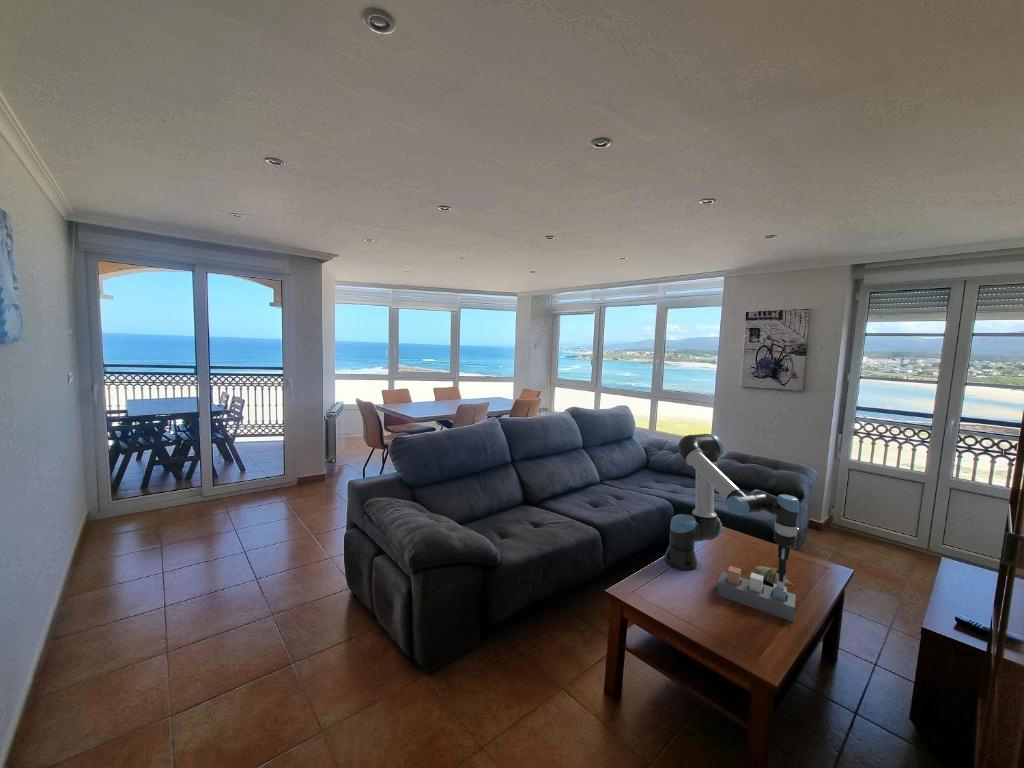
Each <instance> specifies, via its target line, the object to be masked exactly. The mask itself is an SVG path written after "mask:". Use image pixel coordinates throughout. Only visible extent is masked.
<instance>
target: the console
mask: <svg viewBox="0 0 1024 768" xmlns="http://www.w3.org/2000/svg"><path fill="white" fill-rule="evenodd" d="M727 576H728V572H725V571H721V573H720V576H719V578H718V581H717V584H716V585H717V589H716V596H719V597H722V598H723V599H724V598H725V599H727V600H731V601H733V602H736V603H738V604H741V605H745V606H747V607H750V608H752V609H755V610H758V611H761V612H764V613H767V614H770V615H773V616H776V617H779V618H782V619H785V620H788V621H790V622H794V620H795V619H794V618H795V607H796V594H795V593H792V592H789V591H787V593H786V601H783V600H780V599H777V598H774V597H772V596H773V587H774V586H770V585H767V584H763V590H762V593H759V592H756V591H753V590H750V589H749V584H750V579H748V578H745V577H742V576H741V580H740V586H738V585H734V584H731V583H728V582H727Z"/></svg>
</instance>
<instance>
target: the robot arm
mask: <svg viewBox="0 0 1024 768" xmlns="http://www.w3.org/2000/svg"><path fill="white" fill-rule="evenodd" d="M722 442H723V441H721V439H720V438H719V437H718V436H717V435H715V434H712V433H698V434H687V435H684V436H683V437H682V438H681V439H680V441H679V442H678V445H677V449H678V454H679V456H680V457H681V459H682V460H683V461H684V463H686V465H689V466H692V468H693V469H695V506H694V507H695V508H694V509H693V510H692V512H691V515H690V514H682V513H680V514H676V515H674V516H672V517H671V520H670V523H669V524H670V525H669V528H670V529H669V545H668V547H667V549H666V552H665V554H664V562H665V563H666V564H667V565H668V566H670V567H672V568H675V569H676V570H677V569H678V570H683V571H692V570H695V569H696V568H697V567H698V560H697V556H696V552H695V545H696V544H695V543H698V542H705V541H711V540H714V539H718V538H719V537H720V536H721V534H722V533H723V523H722V522H721V519H720V518H719V517H718V514H717V512H715V491H717V493H719V495H720V496H722V498H723V499H724V500H726V507H727V509H728V511H729V512H730V513H731V514H733V515H735V516H737V515H739V516H740V515H748V514H754V513H760V512H767V513H769V514H771V515H773V516H775V521H774V531H773V532H774V534H773V541H774V542H776V543H778V546H777V547H778V548H777V551H778V553H777V557H778V566H777V568H778V569H777V570H778V571H777V570H776V573H778V575H777V586H776V587H778V588H781V589H784V586H785V579H786V574H788V570H786V569H787V561H789V555H790V552H791V551H790V550H791V547H794V546H796V544H797V532H798V531H799V530H800V529H799V528H798V522H799V521H798V519H799V514H800V513H799V512H800V501H799V498H797V497H796V496H794V495H789V494H785V493H784V494H782V493H781V494H779V495H778V496H776V495H774V494H771V493H769V492H766V491H763V490H759V489H753V490H752V491H750V492H749V494H746V493H744V491H742V490H741V489H740V488H739V487H738V486H737V485H736V484H735V483H734V482H733V481H732V480H730V478H729V477H727V476H726V475H725V474H724V472H722V471H721V470H720V469H719V468H718V467H717V466H716V465H715V464H717V463H718V460H719V459H718V457H720V456H721V455H722V453H723V452H724V451H723V450H724V447H723V446H724V445H723V443H722ZM785 587H786V586H785Z"/></svg>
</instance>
